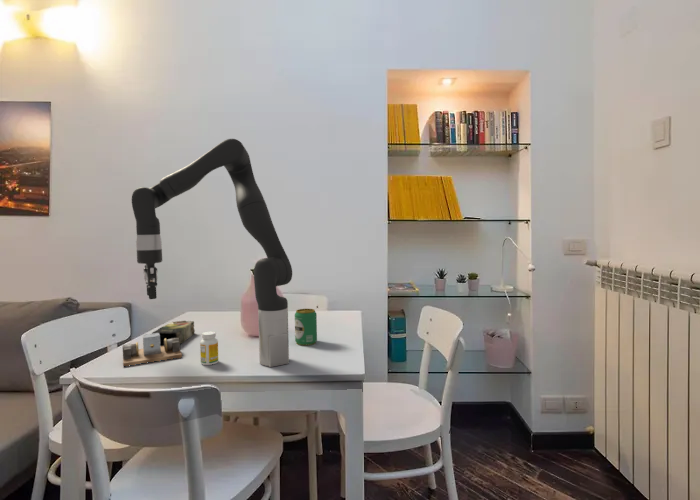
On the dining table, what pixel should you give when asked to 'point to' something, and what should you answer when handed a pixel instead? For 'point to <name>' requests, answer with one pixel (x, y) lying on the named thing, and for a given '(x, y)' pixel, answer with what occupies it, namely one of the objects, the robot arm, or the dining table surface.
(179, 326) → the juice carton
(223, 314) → the dining table surface
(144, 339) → the block
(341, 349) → the dining table surface
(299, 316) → the beverage can
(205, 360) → the supplement bottle
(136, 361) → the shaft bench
